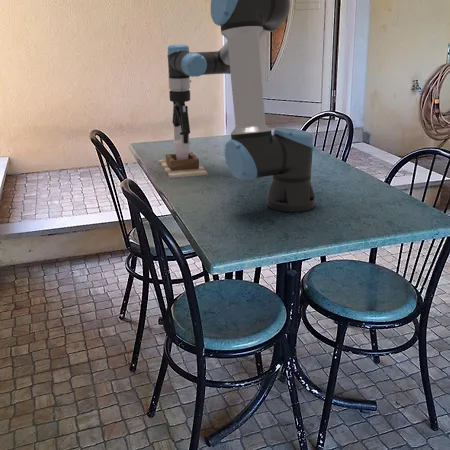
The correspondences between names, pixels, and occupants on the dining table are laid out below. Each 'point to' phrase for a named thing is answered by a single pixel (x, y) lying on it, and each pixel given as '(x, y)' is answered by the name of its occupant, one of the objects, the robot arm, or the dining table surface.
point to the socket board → (182, 166)
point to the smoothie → (180, 150)
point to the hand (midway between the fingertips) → (181, 147)
